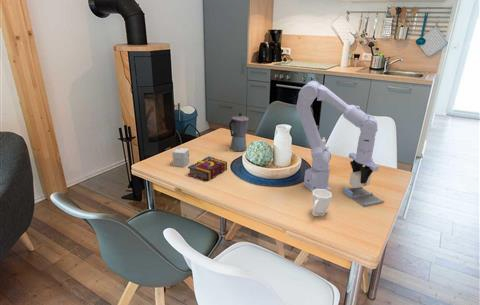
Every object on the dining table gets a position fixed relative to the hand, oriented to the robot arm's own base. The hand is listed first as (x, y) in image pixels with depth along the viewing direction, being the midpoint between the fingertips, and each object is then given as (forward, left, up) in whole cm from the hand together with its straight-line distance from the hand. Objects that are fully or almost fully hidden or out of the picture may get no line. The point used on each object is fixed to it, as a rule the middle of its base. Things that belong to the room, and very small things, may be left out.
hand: (359, 180), depth 128 cm
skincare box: (-62, +53, -6) cm, 81 cm away
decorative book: (-52, +39, -7) cm, 65 cm away
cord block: (0, 0, -2) cm, 2 cm away
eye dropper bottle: (+6, +36, -6) cm, 37 cm away
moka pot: (-29, +63, -6) cm, 69 cm away
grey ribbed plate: (0, -3, -6) cm, 7 cm away
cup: (-24, -7, -6) cm, 25 cm away
